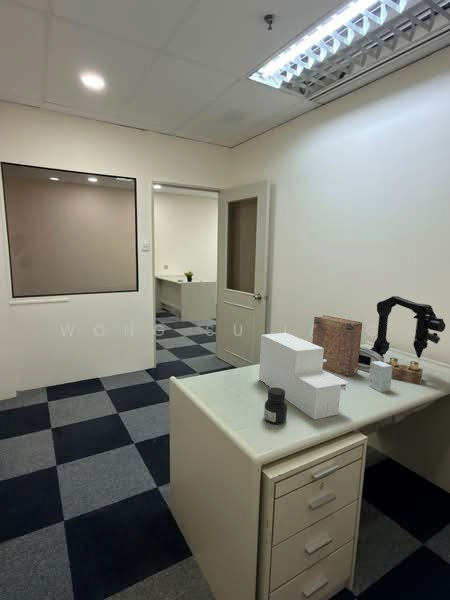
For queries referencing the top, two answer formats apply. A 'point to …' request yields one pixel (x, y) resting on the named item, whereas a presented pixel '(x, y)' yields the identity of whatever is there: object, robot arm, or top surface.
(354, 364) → the brown wooden case
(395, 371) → the walnut block
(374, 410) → the top surface
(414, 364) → the brass peg
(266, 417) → the ink bottle
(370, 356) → the alarm clock
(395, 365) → the brass peg
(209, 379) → the top surface
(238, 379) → the top surface
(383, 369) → the small box
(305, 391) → the building
